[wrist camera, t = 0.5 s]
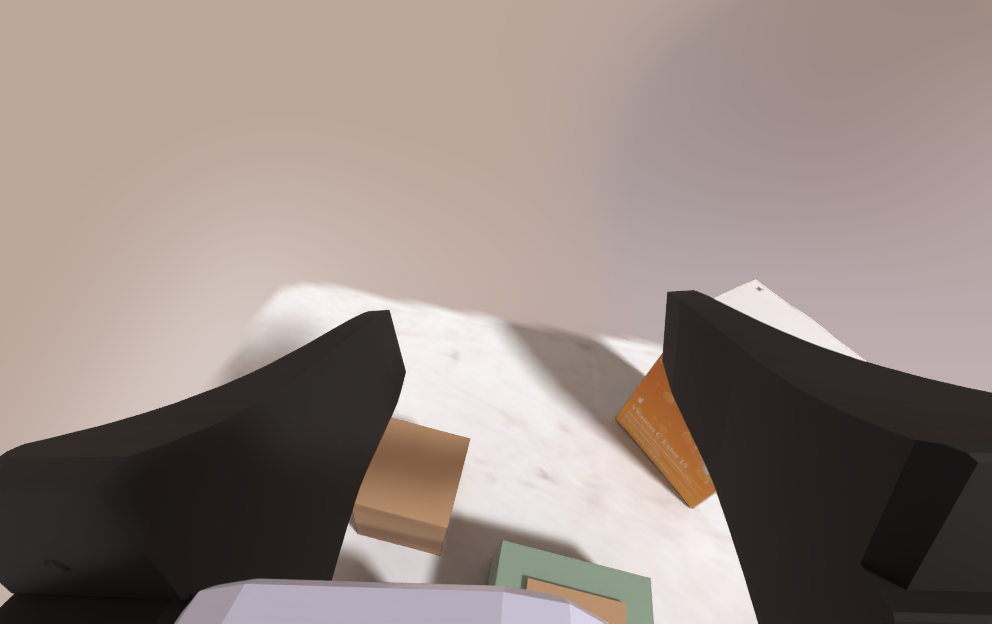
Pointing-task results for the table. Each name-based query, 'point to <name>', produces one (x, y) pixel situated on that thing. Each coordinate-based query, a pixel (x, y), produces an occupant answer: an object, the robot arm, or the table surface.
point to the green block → (575, 582)
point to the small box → (659, 417)
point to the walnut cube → (411, 486)
